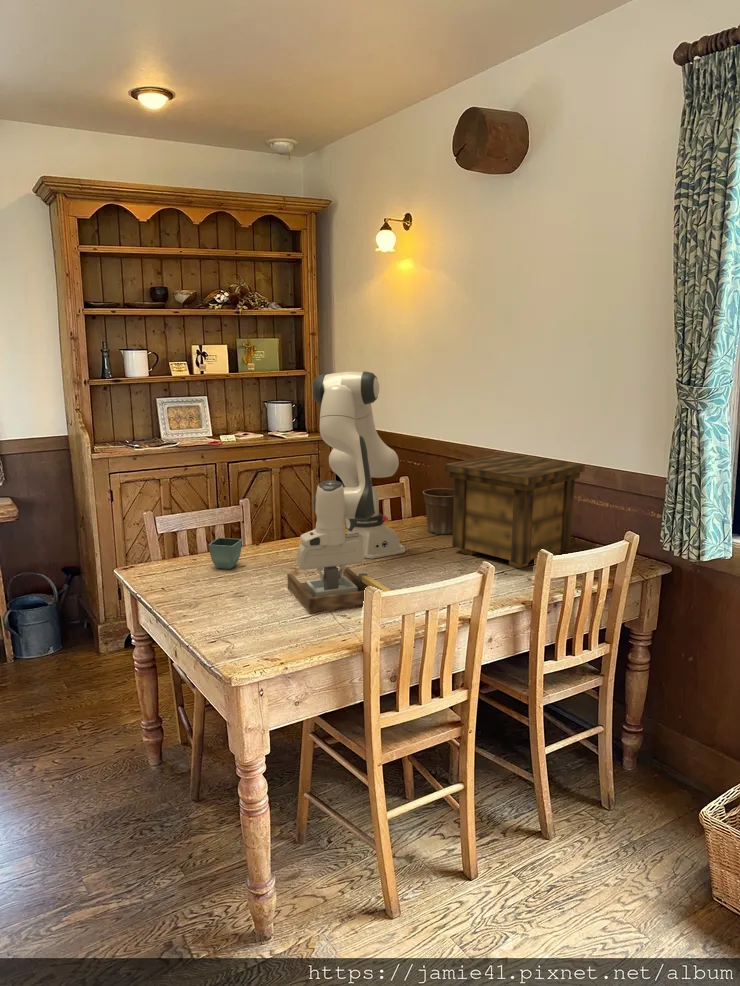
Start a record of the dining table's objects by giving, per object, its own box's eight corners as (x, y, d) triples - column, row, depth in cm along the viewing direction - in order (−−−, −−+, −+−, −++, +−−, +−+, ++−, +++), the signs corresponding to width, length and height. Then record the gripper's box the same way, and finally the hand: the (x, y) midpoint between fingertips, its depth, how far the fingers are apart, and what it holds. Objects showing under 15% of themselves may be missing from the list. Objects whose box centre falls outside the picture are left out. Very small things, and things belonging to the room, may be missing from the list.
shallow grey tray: (345, 585, 236) (345, 560, 234) (357, 596, 226) (357, 570, 224) (305, 590, 231) (305, 564, 230) (316, 602, 221) (315, 575, 220)
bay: (348, 580, 245) (348, 565, 244) (375, 605, 223) (375, 589, 222) (287, 587, 237) (287, 572, 236) (309, 614, 216) (309, 597, 215)
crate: (443, 552, 275) (445, 464, 268) (500, 534, 299) (503, 453, 292) (523, 574, 251) (528, 478, 244) (579, 553, 275) (584, 464, 268)
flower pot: (233, 571, 253) (232, 545, 251) (209, 570, 255) (208, 544, 253) (243, 563, 261) (242, 538, 259) (219, 562, 263) (218, 537, 261)
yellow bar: (356, 579, 229) (356, 574, 229) (365, 578, 230) (365, 572, 230) (385, 598, 213) (385, 592, 213) (394, 597, 214) (394, 591, 214)
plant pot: (417, 526, 311) (418, 488, 307) (455, 525, 314) (456, 487, 310) (427, 537, 295) (428, 497, 292) (467, 535, 298) (468, 495, 295)
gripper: (359, 529, 231) (359, 572, 234) (295, 536, 224) (295, 580, 227) (367, 535, 225) (367, 579, 228) (300, 541, 218) (301, 587, 221)
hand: (331, 579), depth 228 cm, fingers closed on shallow grey tray, 3 cm apart
